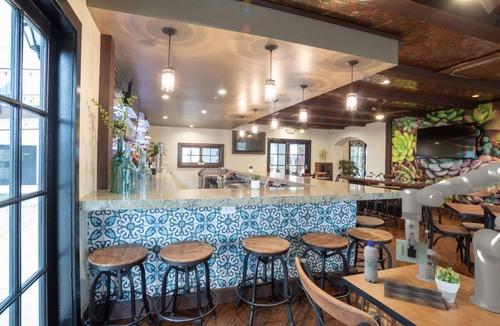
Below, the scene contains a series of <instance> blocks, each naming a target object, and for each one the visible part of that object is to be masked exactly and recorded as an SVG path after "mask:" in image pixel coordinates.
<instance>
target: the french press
mask: <svg viewBox="0 0 500 326" xmlns="http://www.w3.org/2000/svg"><path fill="white" fill-rule="evenodd" d="M424 232H425V233H426V243H427V265H423V264H417V267H418V268H417V269H418V271H417V274H415V277H416V278H417V279H418V280H420V281H423V282H427V283H431V282H432V284H433V283H435V273H436V274H437V272H436V271H437V267H438V265H439V262H437V263H436V261H437V260H436V259H435V258H436V257H437V259H439V255H438V253H437V252H436V251H435V250H433V249H432V248H429V247H428V246H429V245H428V243H429V241H428V238H429V233H430V230H428V229H426V230H425V231H424ZM428 256H431V258H430V257H428ZM432 257H434V258H432ZM435 284H436V283H435Z"/></svg>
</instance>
